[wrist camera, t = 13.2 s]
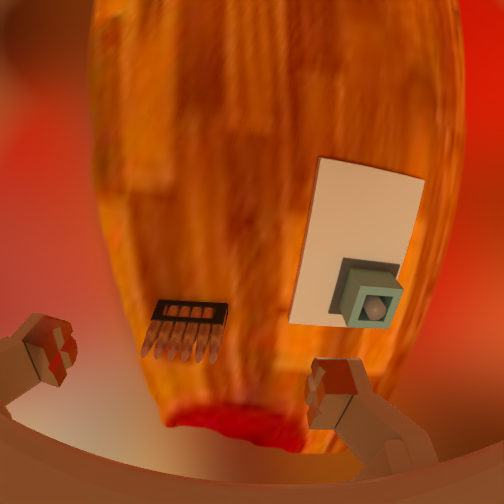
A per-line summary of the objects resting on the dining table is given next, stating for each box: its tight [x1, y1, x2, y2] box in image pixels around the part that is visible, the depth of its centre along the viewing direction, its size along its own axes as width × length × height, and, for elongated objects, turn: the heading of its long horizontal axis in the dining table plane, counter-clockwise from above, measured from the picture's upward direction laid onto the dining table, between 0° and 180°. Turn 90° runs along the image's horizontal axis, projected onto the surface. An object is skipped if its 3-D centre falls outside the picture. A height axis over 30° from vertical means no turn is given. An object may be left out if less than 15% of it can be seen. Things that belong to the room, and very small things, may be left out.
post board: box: [288, 157, 425, 327], centre depth 38 cm, size 24×15×8 cm, turn 173°
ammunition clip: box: [141, 300, 228, 364], centre depth 40 cm, size 11×2×12 cm, turn 89°
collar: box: [339, 267, 404, 329], centre depth 39 cm, size 6×6×5 cm
